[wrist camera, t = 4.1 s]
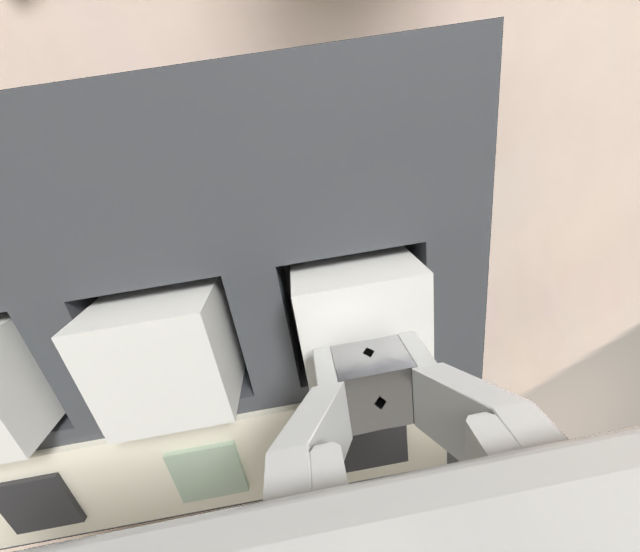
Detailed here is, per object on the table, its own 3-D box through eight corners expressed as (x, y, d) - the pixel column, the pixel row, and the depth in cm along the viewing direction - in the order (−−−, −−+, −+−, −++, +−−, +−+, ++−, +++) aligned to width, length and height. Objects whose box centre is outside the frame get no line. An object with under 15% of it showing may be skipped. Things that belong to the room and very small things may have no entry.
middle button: (220, 272, 12) (199, 312, 9) (245, 363, 13) (235, 421, 11) (106, 291, 12) (50, 338, 9) (145, 381, 13) (108, 444, 10)
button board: (437, 54, 12) (516, 9, 8) (438, 395, 18) (483, 470, 14) (-191, 147, 11) (-466, 151, 7) (32, 469, 18) (-47, 571, 13)
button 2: (399, 242, 12) (433, 273, 9) (404, 335, 14) (434, 385, 11) (290, 260, 12) (291, 297, 9) (307, 352, 13) (312, 408, 11)
